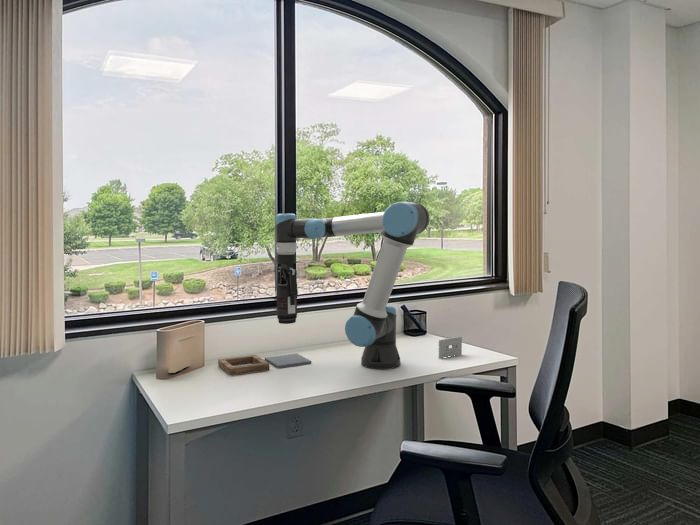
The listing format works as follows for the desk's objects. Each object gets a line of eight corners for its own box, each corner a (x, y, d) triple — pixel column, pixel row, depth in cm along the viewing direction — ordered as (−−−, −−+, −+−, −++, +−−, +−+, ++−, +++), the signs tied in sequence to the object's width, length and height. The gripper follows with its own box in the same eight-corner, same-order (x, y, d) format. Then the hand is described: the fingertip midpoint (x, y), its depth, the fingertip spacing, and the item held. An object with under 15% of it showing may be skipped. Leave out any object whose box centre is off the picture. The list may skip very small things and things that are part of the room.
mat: (311, 363, 217) (311, 361, 217) (277, 368, 210) (277, 365, 210) (296, 355, 229) (296, 353, 229) (264, 360, 223) (264, 357, 223)
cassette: (440, 359, 224) (440, 340, 223) (437, 358, 225) (437, 339, 225) (462, 355, 230) (462, 337, 230) (459, 354, 232) (459, 336, 231)
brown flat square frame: (269, 370, 208) (269, 363, 208) (230, 375, 201) (230, 368, 201) (255, 360, 221) (255, 354, 221) (218, 365, 214) (218, 359, 214)
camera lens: (301, 322, 217) (300, 284, 216) (282, 325, 213) (281, 286, 212) (292, 319, 224) (291, 282, 223) (273, 321, 220) (273, 283, 219)
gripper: (267, 252, 224) (268, 308, 225) (288, 255, 205) (288, 316, 207) (284, 251, 227) (285, 307, 229) (306, 254, 209) (307, 314, 211)
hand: (287, 311), depth 218 cm, fingers closed on camera lens, 8 cm apart
